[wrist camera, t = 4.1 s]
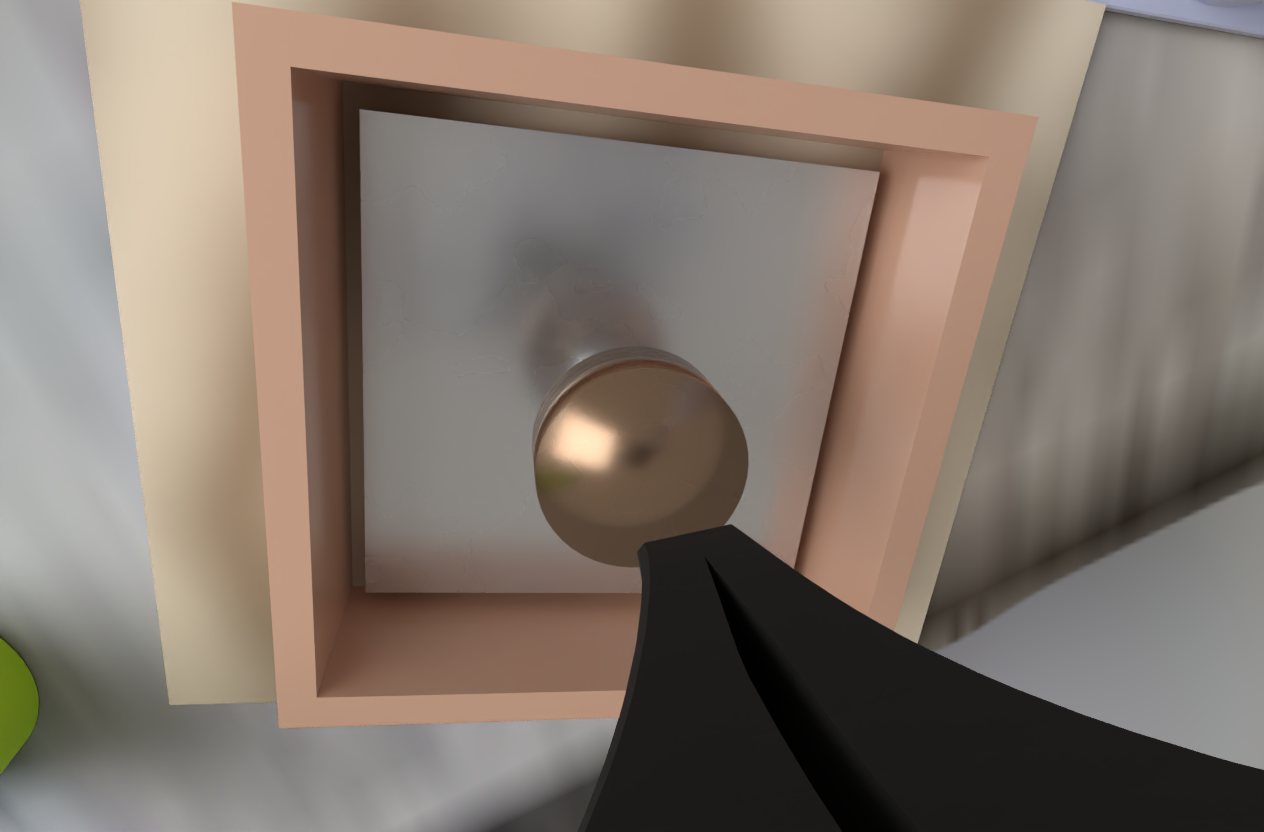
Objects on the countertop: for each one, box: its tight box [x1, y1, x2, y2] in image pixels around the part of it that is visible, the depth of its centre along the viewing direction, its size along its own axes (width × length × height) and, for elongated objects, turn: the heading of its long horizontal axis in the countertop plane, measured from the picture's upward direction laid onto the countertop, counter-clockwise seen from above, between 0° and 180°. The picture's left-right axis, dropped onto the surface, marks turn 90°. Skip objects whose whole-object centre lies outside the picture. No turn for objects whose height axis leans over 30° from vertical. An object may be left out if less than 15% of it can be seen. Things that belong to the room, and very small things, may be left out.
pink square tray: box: [232, 2, 1038, 728], centre depth 17 cm, size 14×14×4 cm
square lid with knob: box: [360, 109, 880, 593], centre depth 16 cm, size 11×11×5 cm
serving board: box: [80, 0, 1106, 705], centre depth 19 cm, size 22×20×1 cm
